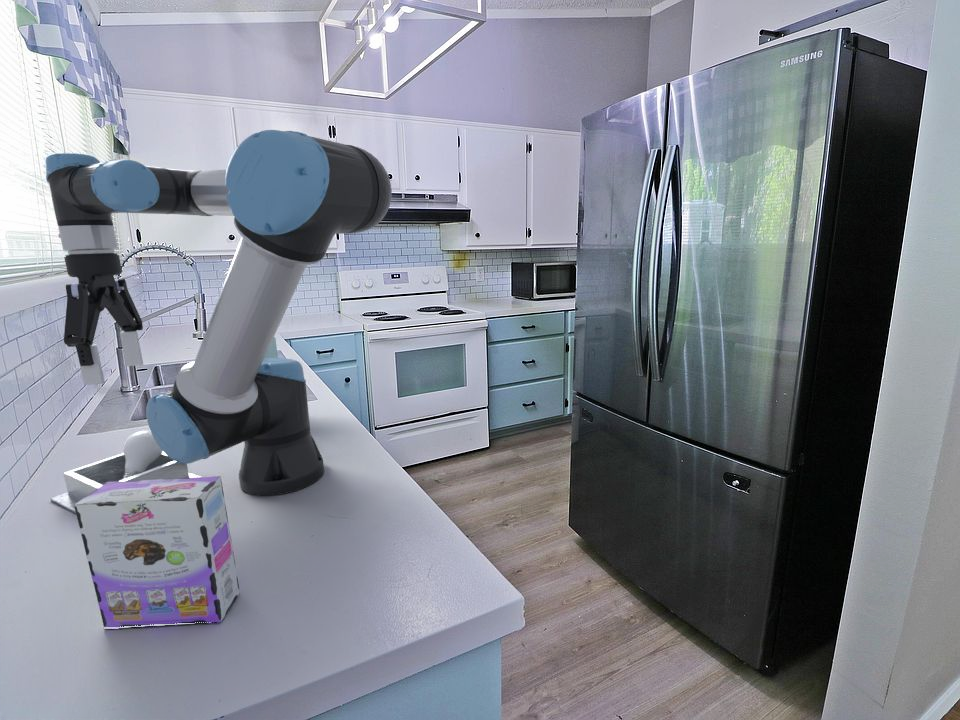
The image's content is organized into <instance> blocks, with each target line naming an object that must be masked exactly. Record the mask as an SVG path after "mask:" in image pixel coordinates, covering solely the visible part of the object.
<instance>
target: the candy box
mask: <svg viewBox="0 0 960 720" xmlns="http://www.w3.org/2000/svg"><path fill="white" fill-rule="evenodd" d="M224 494H225V493H224V488H223V482H222V477H221V475H215V476H200V477H196V478H178V479H158V480H141V481H118V482H107V483H105V484H104V485H102V486H101V487H99V488H98V489H96V490H95V491H93V492H92V493H90V494H89V495H88V496H86V497H85V498H83V499H82V500H80V501H79V502H77V503H76V504H75V505H74V508H75V512H76V514H75V515H76V518H77V522H78V527H79V531H80V535H81V538H82V542H83V547H84V551H85V556H86V560H87V564H88V567H89V572H90V576H91V579H92V580H91V581H92V584H93V586H94V591H95V594H96V595H95V596H96V598H97V599H96V600H97V604H98V609H99V610H100V615H101V620H102V625H103V626H104V627H120V626H121V627H122V626H123V627H124V626H135V625H136V626H137V625H138V626H141V625H150V624H151V625H152V624H153V625H154V624H175V623H176V624H177V623H195V622H196V623H197V622H198V623H199V622H200V623H201V622H202V623H203V622H204V623H205V622H206V623H207V622H208V624H215V623H214V622H217V623H216V624H219V623H218V622H221V623H222V621H223V620H224V618H225V617H226V615H227V614H228V612H229V610H230V609H231V607H232V606H233V605H234V603H235V601H237V598H238V596H239V595H240V593H241V591H240V585H239V580H238V573H237V567H236V560H235V555H234V549H233V542H232V536H231V530H230V524H229V519H228V513H227V512H228V511H227V505H226V500H225V499H226V498H225V495H224ZM209 622H211V623H209ZM212 622H213V623H212ZM104 627H103V628H104Z"/></svg>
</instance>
